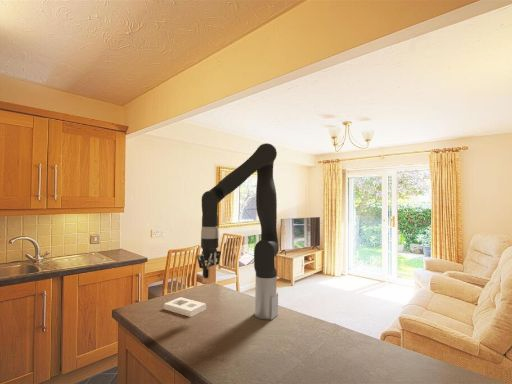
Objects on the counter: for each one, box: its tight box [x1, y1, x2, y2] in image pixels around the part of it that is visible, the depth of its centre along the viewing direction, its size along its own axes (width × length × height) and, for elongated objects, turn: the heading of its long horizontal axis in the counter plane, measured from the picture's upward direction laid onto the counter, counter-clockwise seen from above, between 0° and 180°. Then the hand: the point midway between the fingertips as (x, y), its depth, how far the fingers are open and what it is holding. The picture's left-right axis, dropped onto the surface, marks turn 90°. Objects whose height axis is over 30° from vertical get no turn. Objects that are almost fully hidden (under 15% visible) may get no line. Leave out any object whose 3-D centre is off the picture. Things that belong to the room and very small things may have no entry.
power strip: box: [163, 296, 207, 318], centre depth 127 cm, size 16×10×3 cm, turn 60°
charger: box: [201, 261, 217, 285], centre depth 121 cm, size 4×4×9 cm
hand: (209, 276), depth 121 cm, fingers closed on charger, 4 cm apart
